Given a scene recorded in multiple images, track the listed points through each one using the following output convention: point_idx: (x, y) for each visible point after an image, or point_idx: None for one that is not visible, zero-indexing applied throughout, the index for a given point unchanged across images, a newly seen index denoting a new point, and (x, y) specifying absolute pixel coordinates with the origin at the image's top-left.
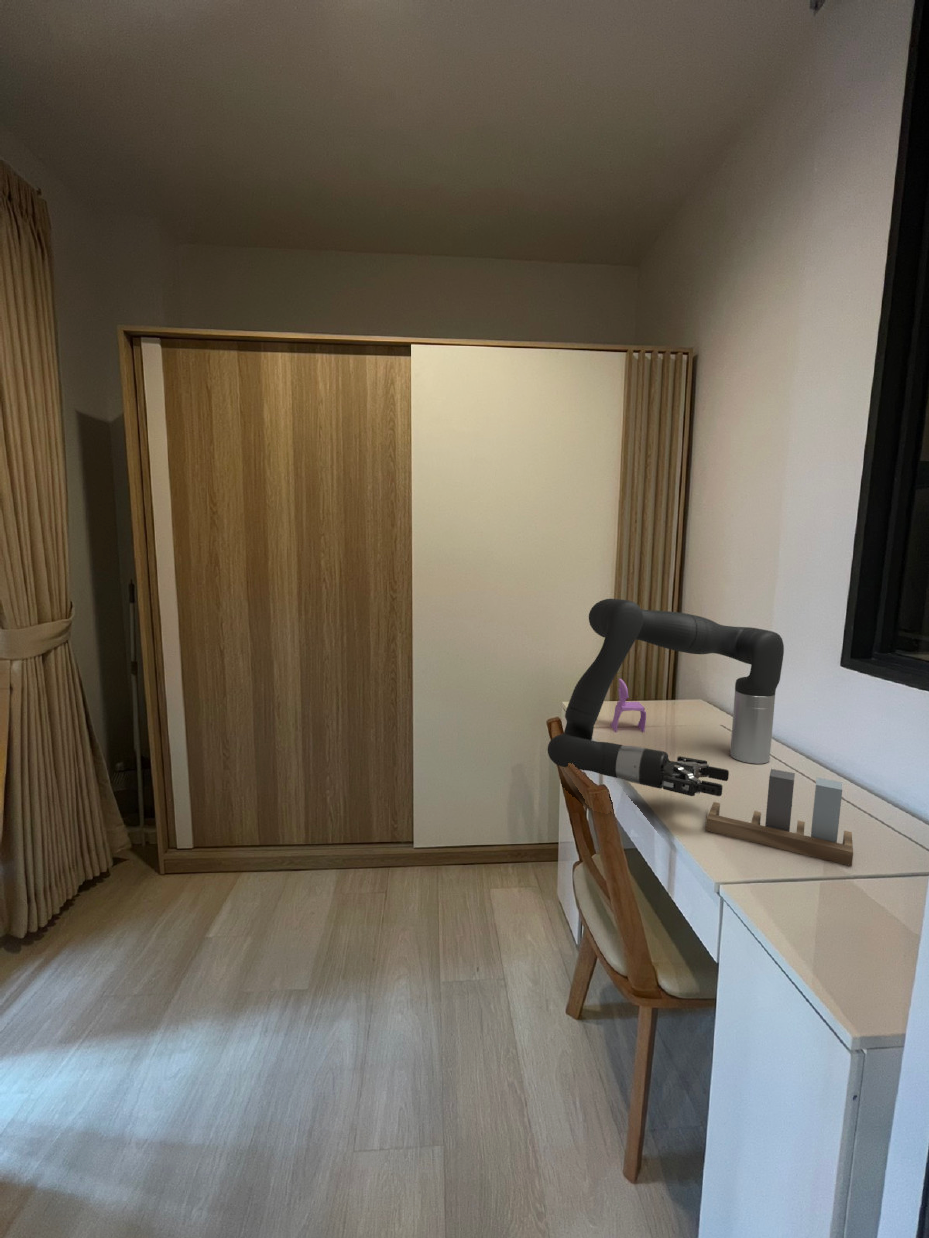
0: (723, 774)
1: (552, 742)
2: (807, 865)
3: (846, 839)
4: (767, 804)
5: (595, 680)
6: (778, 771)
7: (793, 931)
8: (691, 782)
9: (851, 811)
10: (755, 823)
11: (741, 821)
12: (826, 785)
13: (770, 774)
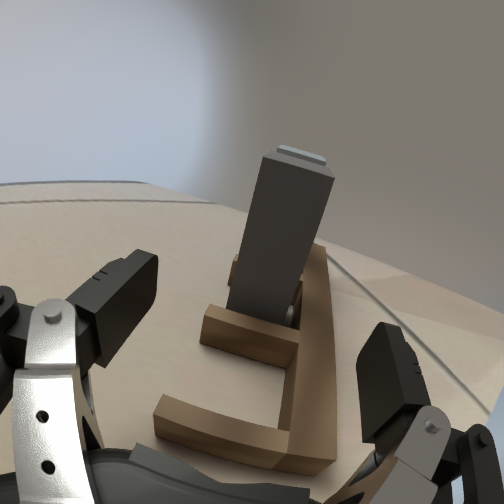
0: (147, 285)
1: None
2: (355, 308)
3: None
4: (303, 266)
5: None
6: (279, 158)
7: (494, 348)
8: (489, 440)
9: (126, 207)
10: (296, 334)
11: (301, 363)
12: (317, 157)
13: (321, 173)
